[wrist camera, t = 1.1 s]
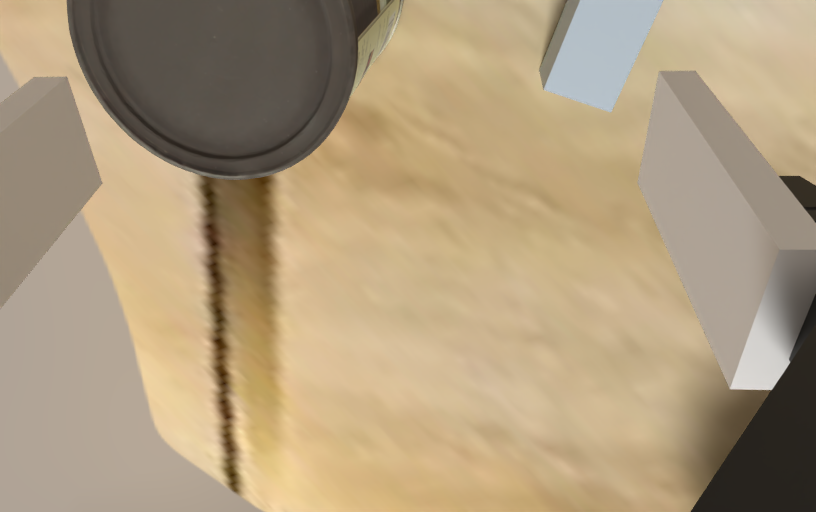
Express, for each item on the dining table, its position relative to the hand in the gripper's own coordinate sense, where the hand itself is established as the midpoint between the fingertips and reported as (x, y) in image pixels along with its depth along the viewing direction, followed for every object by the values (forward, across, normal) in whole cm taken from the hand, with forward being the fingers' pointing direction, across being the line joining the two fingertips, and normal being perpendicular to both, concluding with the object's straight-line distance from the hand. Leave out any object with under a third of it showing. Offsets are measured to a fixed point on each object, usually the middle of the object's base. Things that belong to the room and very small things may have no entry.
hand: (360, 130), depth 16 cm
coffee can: (+23, +5, +3) cm, 24 cm away
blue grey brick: (+22, -10, +4) cm, 24 cm away
